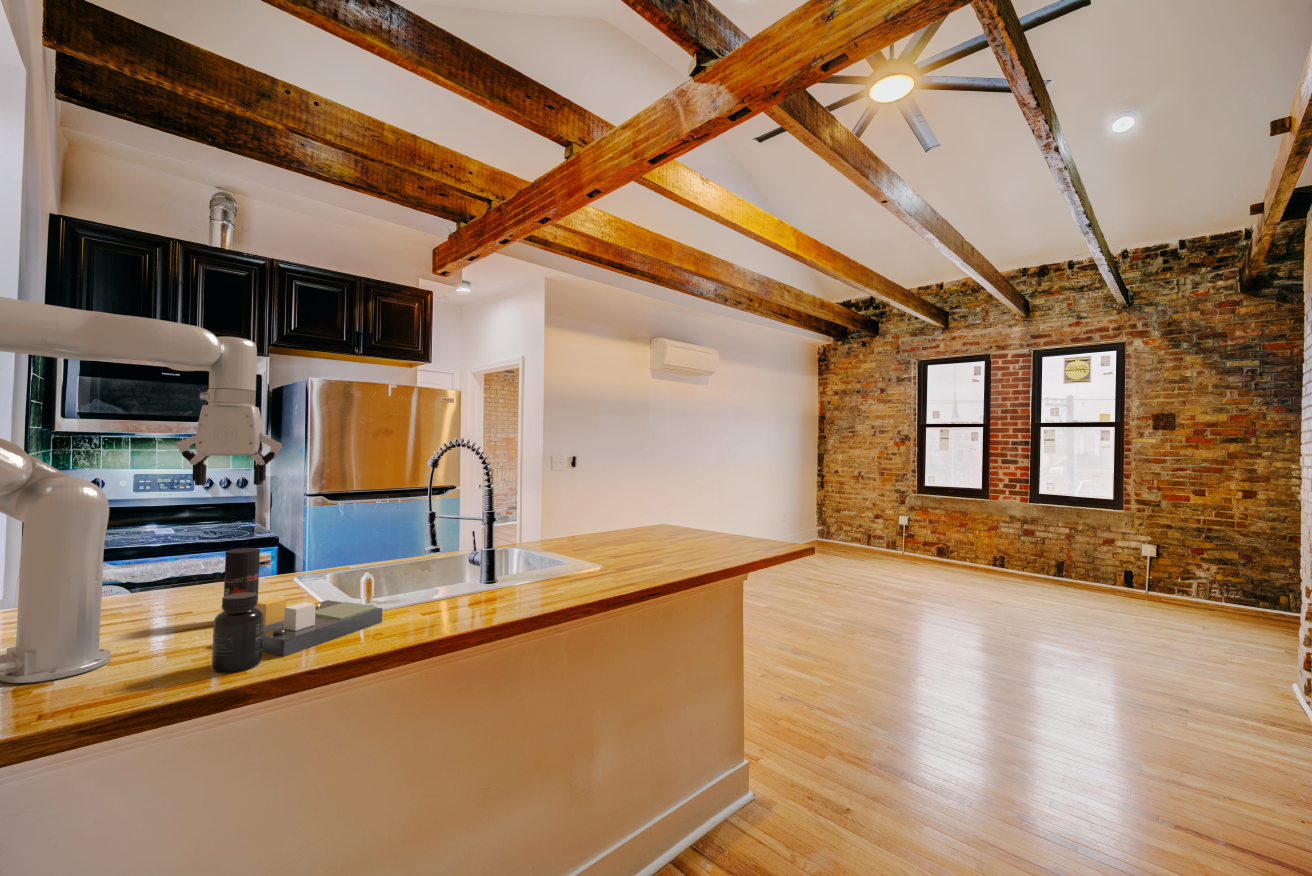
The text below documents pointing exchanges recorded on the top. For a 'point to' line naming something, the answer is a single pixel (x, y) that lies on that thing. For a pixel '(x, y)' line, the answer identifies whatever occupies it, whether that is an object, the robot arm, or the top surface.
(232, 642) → the supplement bottle
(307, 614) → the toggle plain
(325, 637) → the panel
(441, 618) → the top surface
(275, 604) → the block
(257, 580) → the deodorant
